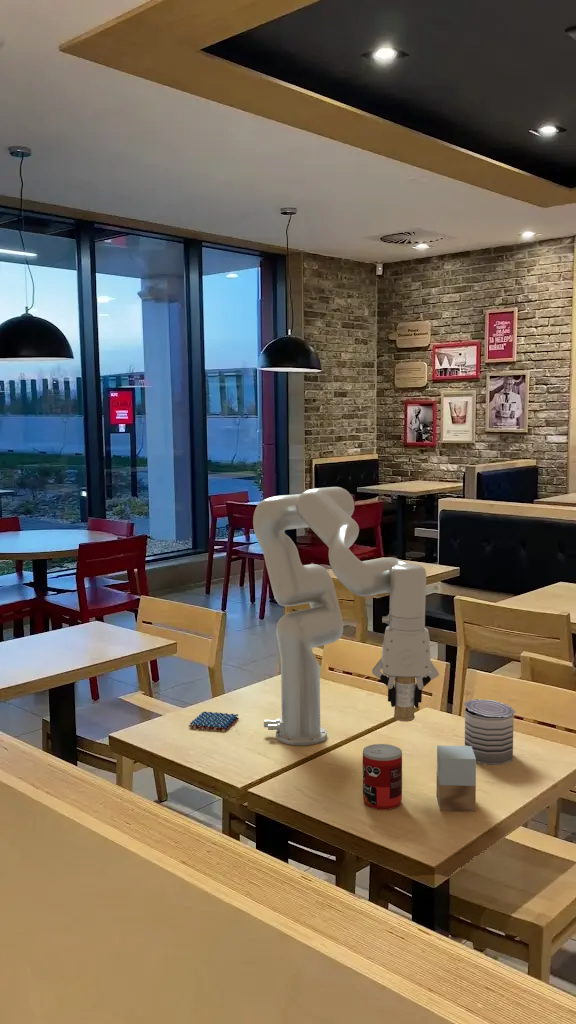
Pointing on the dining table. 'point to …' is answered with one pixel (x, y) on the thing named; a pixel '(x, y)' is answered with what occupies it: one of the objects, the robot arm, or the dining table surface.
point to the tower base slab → (456, 798)
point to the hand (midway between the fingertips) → (404, 704)
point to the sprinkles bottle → (404, 698)
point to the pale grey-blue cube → (456, 765)
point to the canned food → (382, 776)
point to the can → (489, 731)
